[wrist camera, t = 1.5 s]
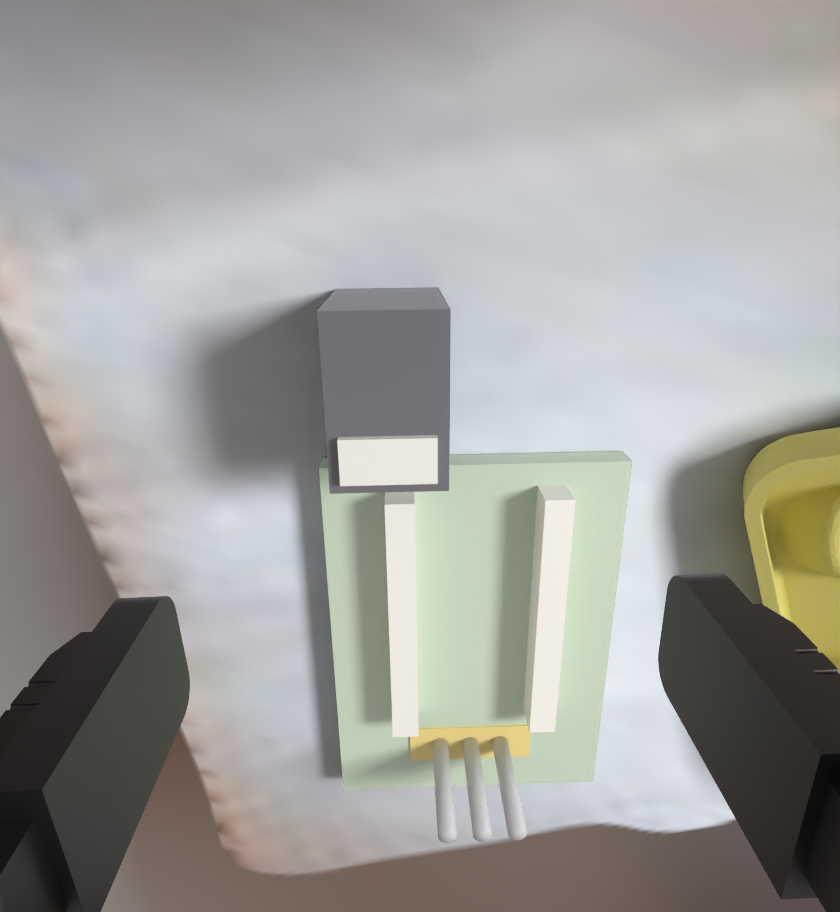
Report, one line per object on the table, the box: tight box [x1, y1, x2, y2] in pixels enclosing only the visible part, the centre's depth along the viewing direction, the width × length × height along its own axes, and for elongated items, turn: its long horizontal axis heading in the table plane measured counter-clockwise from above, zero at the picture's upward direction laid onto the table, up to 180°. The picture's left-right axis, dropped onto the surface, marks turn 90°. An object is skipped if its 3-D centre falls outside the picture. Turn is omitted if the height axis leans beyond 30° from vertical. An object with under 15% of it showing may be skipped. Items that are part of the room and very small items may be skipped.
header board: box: [319, 451, 632, 843], centre depth 27 cm, size 18×13×6 cm
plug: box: [317, 288, 450, 494], centre depth 22 cm, size 6×4×6 cm, turn 1°
